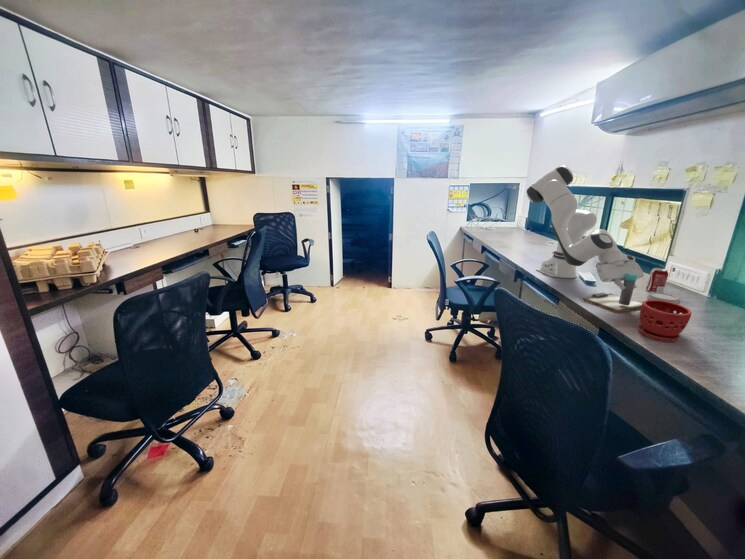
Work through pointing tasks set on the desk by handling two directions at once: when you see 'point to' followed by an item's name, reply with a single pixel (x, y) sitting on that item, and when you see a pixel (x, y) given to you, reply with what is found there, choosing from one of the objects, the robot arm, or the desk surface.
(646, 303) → the plant pot
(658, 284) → the soda can
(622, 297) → the ball
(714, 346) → the desk surface
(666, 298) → the disposable coffee cup
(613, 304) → the clipboard
